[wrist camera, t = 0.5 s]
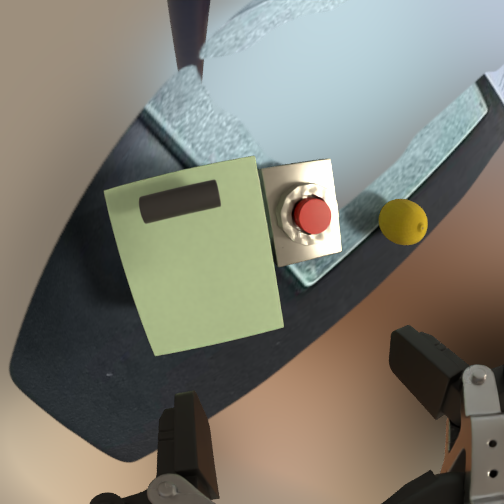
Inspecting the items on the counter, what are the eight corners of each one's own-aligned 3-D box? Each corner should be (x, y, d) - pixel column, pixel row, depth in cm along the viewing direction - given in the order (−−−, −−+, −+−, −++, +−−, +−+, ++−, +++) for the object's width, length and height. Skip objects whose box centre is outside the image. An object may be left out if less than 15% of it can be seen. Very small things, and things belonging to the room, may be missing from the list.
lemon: (360, 215, 36) (397, 226, 29) (387, 187, 36) (426, 193, 28) (381, 245, 38) (417, 262, 30) (406, 218, 38) (444, 229, 30)
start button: (291, 200, 31) (296, 202, 29) (322, 194, 31) (329, 196, 29) (296, 234, 32) (301, 237, 30) (326, 227, 32) (333, 230, 30)
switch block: (257, 169, 33) (265, 168, 29) (322, 158, 34) (337, 157, 30) (273, 261, 36) (282, 272, 32) (334, 247, 37) (349, 255, 33)
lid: (106, 190, 21) (84, 194, 16) (253, 156, 23) (267, 151, 18) (155, 351, 25) (150, 385, 21) (281, 323, 27) (298, 352, 22)
